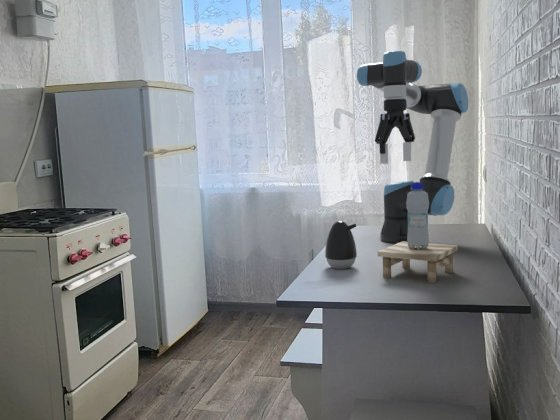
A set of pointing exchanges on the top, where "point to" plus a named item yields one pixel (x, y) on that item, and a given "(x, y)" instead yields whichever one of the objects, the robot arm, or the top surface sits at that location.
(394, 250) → the footstool
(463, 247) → the top surface
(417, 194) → the bottle
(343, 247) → the pump dispenser
